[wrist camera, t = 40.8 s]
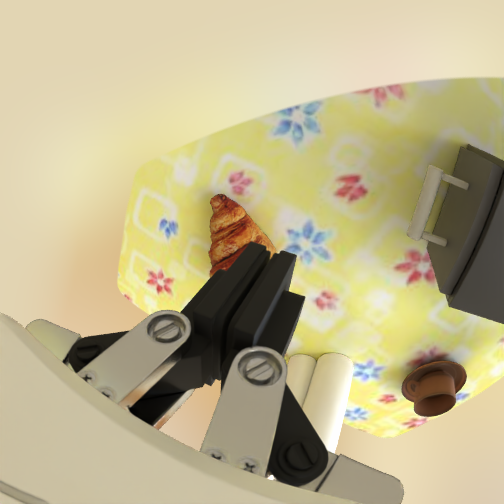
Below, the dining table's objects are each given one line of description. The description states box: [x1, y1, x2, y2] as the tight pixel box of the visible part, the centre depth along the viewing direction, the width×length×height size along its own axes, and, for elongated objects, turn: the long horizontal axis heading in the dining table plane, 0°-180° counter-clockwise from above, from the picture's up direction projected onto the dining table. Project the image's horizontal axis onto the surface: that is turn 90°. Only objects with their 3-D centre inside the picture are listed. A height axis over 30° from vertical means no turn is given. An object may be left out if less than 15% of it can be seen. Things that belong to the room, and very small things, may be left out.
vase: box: [286, 353, 353, 453], centre depth 37 cm, size 11×7×20 cm, turn 115°
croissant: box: [208, 194, 277, 278], centre depth 37 cm, size 21×10×8 cm, turn 23°
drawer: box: [407, 147, 504, 295], centre depth 20 cm, size 19×12×9 cm, turn 85°
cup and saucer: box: [402, 361, 467, 417], centre depth 35 cm, size 12×12×6 cm
